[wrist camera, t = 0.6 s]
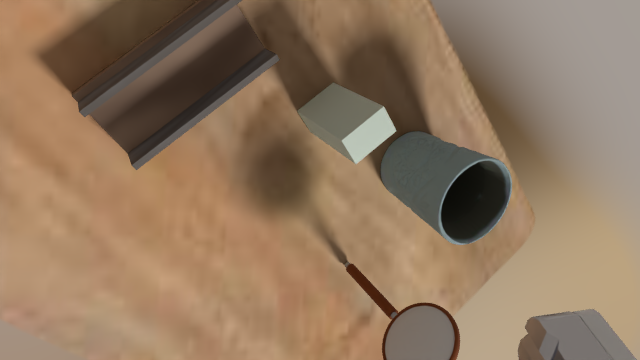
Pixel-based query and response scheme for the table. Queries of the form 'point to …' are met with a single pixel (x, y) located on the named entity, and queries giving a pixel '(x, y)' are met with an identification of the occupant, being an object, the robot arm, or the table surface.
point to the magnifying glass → (413, 327)
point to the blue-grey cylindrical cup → (447, 185)
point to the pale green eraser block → (347, 121)
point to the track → (175, 78)
